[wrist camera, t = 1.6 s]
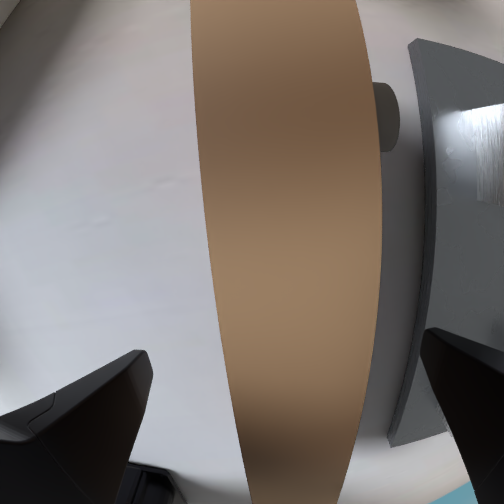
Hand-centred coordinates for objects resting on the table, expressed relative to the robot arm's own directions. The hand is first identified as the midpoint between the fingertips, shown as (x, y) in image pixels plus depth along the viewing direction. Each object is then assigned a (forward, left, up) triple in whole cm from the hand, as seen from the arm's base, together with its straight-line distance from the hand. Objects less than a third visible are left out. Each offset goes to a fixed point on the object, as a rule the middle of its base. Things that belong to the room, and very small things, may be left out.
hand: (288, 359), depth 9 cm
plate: (0, -12, -4) cm, 13 cm away
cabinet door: (0, 0, -4) cm, 5 cm away
